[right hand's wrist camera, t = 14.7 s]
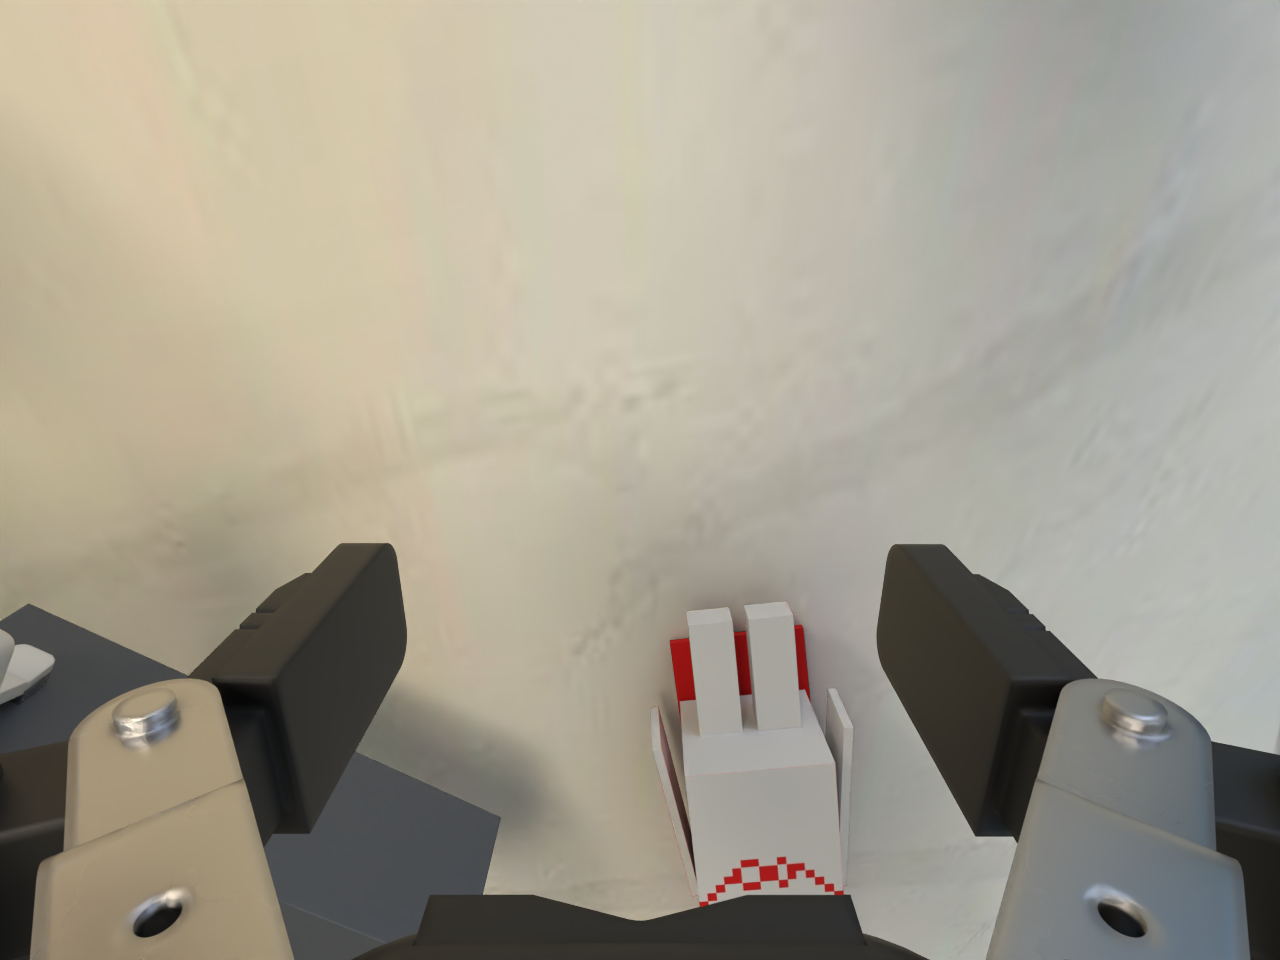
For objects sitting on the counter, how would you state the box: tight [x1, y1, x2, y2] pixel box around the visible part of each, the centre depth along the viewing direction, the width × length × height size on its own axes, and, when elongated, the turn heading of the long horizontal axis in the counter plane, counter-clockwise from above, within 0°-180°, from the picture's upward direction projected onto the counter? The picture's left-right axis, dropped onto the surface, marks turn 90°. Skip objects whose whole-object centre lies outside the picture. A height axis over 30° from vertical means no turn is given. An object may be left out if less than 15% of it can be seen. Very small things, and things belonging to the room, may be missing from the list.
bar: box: [0, 604, 501, 960], centre depth 33 cm, size 26×5×9 cm, turn 58°
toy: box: [650, 601, 853, 907], centre depth 46 cm, size 12×13×30 cm
